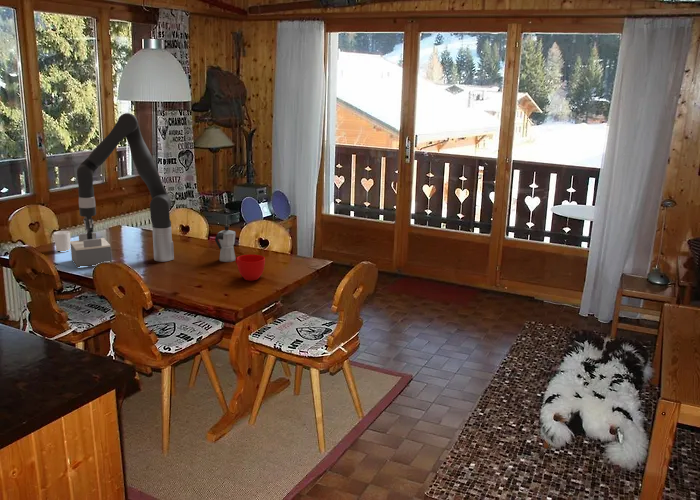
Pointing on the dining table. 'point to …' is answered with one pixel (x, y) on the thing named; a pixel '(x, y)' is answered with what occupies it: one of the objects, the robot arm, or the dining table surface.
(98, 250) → the box
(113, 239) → the dining table surface
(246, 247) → the dining table surface
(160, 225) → the robot arm
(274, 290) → the dining table surface
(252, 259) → the ceramic cup
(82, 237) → the far panel
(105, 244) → the near panel
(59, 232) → the white cup
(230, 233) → the coffee maker
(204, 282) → the dining table surface
